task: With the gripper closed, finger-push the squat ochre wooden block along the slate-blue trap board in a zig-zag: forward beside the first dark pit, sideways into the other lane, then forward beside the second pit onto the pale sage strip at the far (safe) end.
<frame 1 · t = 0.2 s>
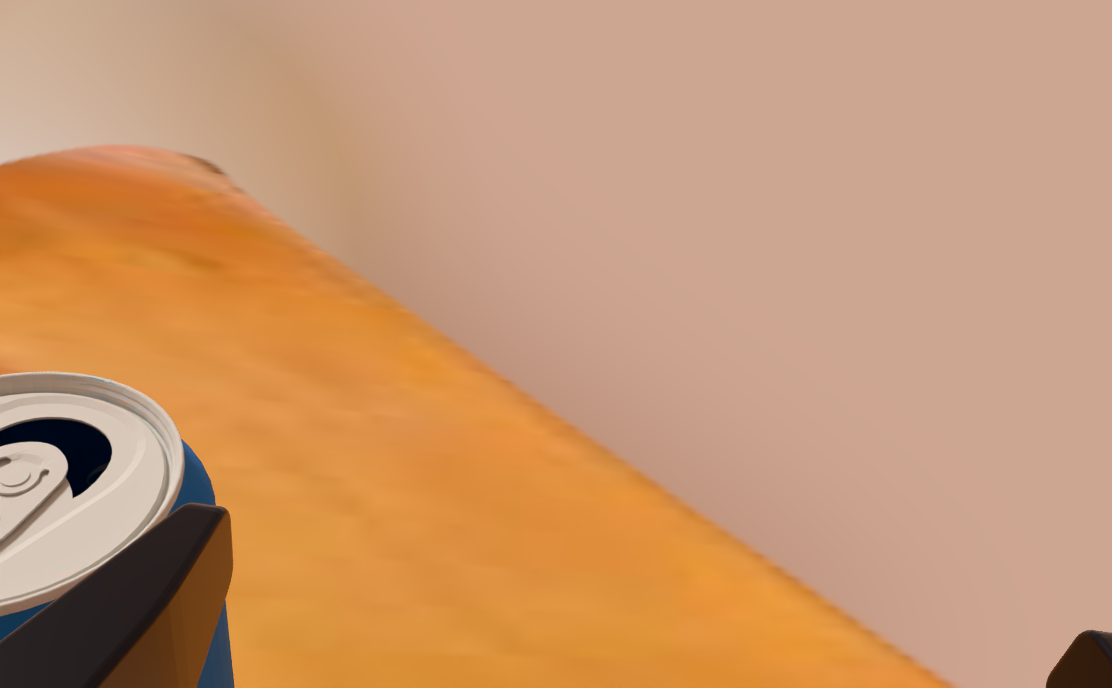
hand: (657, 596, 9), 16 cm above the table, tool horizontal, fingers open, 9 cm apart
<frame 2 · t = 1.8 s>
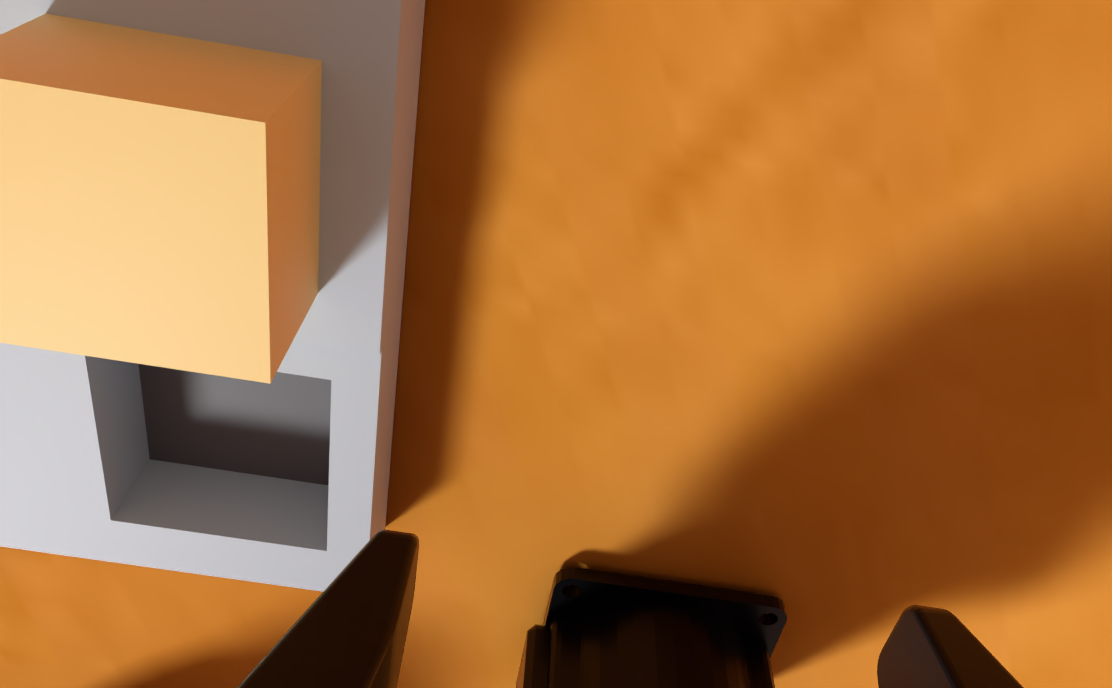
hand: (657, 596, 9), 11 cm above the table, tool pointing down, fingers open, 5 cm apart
ochre block: (193, 164, 16), point 3 cm above the table, touching trap board
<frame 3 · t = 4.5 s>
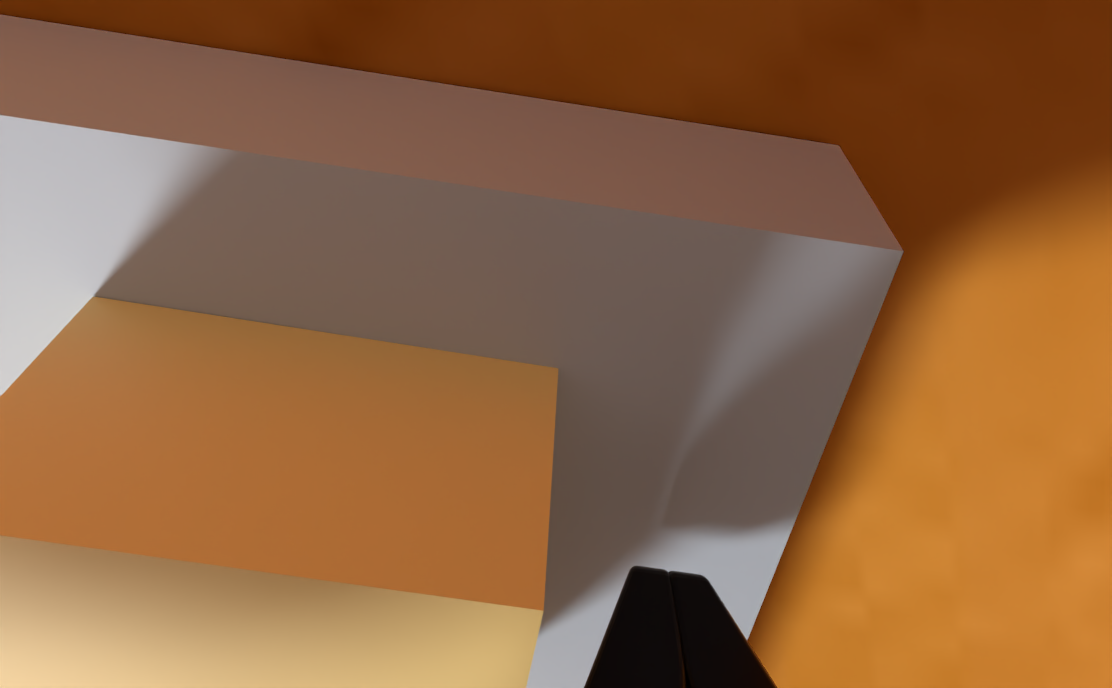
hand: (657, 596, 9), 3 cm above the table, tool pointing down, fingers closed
ochre block: (324, 501, 10), point 3 cm above the table, touching gripper
trap board: (15, 504, 14), on the table
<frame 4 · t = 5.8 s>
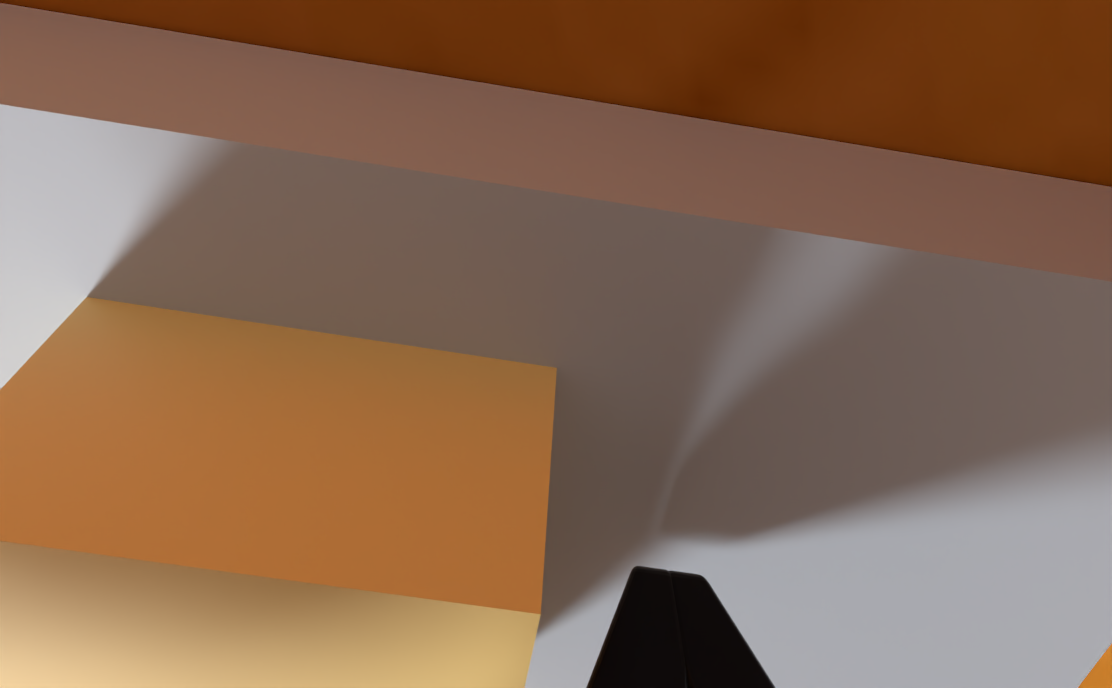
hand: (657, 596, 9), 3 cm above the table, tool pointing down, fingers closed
ochre block: (321, 503, 10), point 3 cm above the table, touching gripper, trap board
trap board: (284, 537, 14), on the table
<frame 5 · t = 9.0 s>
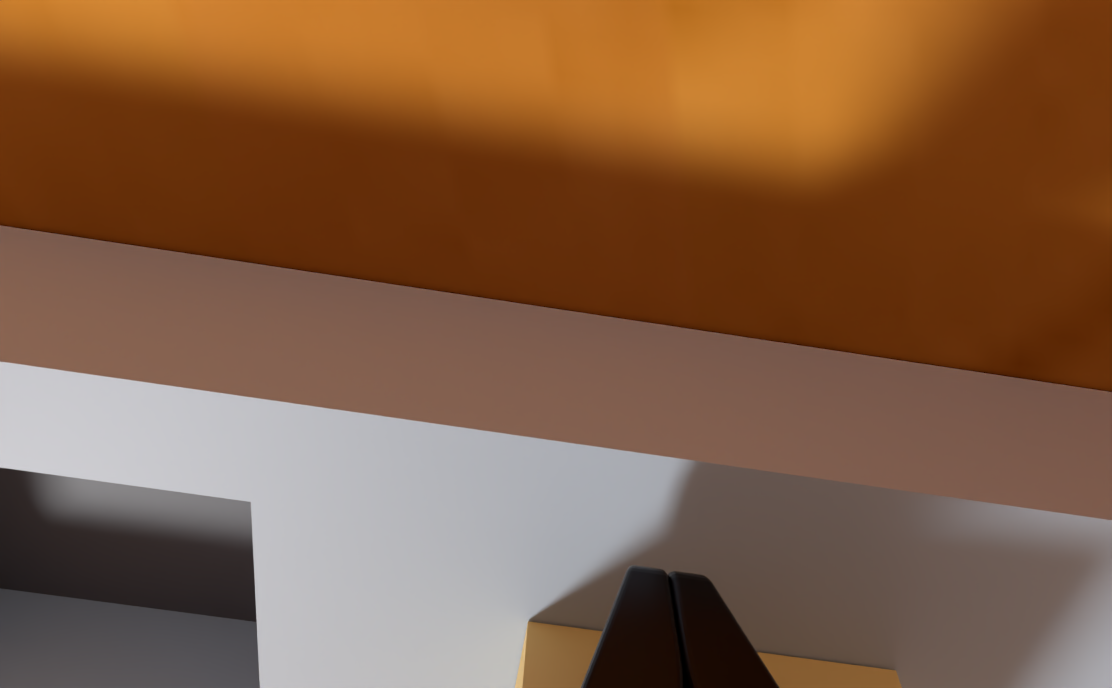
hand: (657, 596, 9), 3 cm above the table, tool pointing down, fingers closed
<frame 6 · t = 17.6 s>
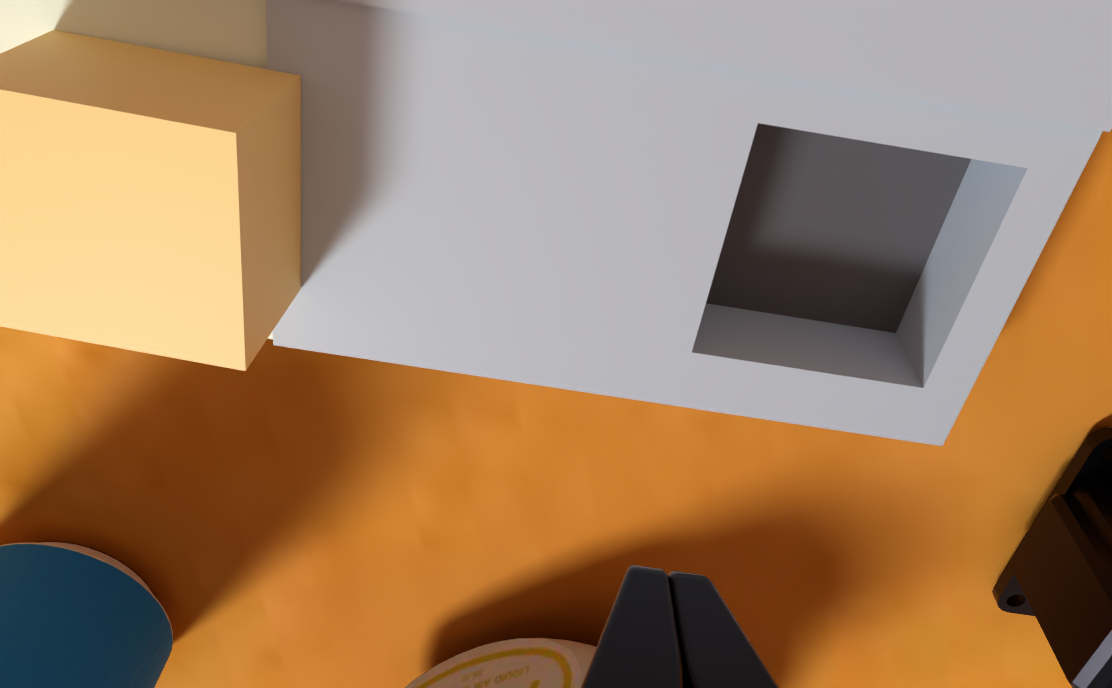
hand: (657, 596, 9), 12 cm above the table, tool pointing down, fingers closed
ochre block: (186, 168, 17), point 2 cm above the table, touching trap board
beverage can: (81, 593, 28), on the table
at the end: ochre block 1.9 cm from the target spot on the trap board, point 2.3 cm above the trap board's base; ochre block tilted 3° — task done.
